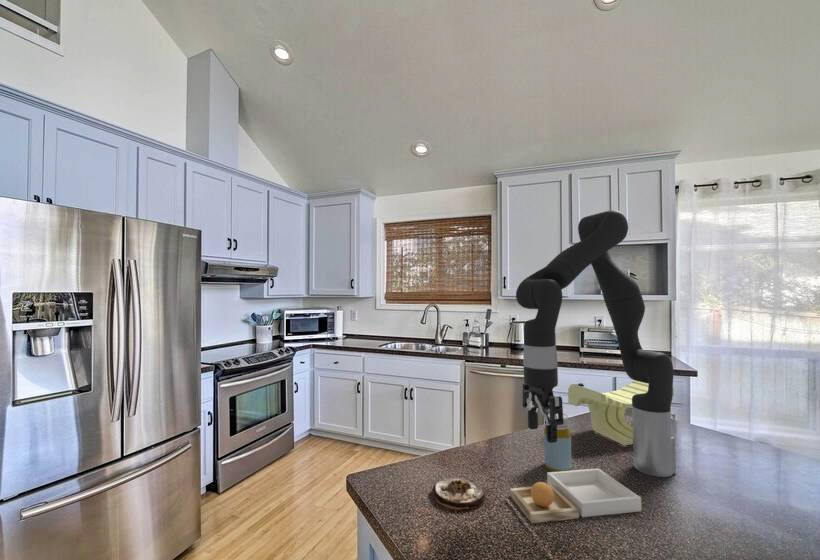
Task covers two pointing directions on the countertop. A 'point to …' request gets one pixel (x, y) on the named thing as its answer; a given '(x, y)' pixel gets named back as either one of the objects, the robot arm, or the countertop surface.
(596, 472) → the dish
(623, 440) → the pale yellow ridged piece
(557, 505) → the tray
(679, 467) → the countertop surface
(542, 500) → the ball
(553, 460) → the bottle
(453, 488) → the sushi roll
